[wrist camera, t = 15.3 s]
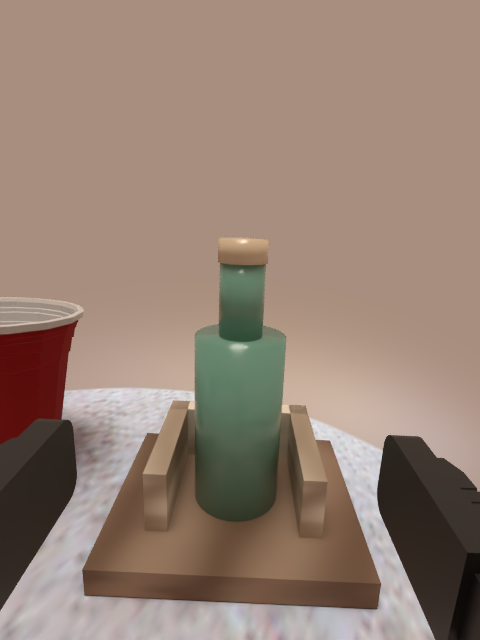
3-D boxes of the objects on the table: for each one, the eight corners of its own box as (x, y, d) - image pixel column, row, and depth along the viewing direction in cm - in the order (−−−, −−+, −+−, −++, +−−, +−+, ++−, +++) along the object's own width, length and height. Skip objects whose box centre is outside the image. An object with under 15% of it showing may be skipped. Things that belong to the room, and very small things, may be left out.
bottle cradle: (84, 595, 19) (76, 507, 17) (147, 450, 30) (145, 391, 29) (377, 609, 18) (390, 521, 17) (328, 457, 30) (334, 398, 29)
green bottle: (188, 519, 22) (187, 239, 18) (200, 464, 26) (201, 235, 23) (279, 523, 21) (298, 243, 18) (273, 467, 26) (287, 238, 22)
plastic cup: (125, 451, 30) (117, 299, 27) (-23, 551, 21) (-60, 338, 18) (37, 414, 35) (22, 283, 32) (-114, 482, 26) (-155, 306, 23)
